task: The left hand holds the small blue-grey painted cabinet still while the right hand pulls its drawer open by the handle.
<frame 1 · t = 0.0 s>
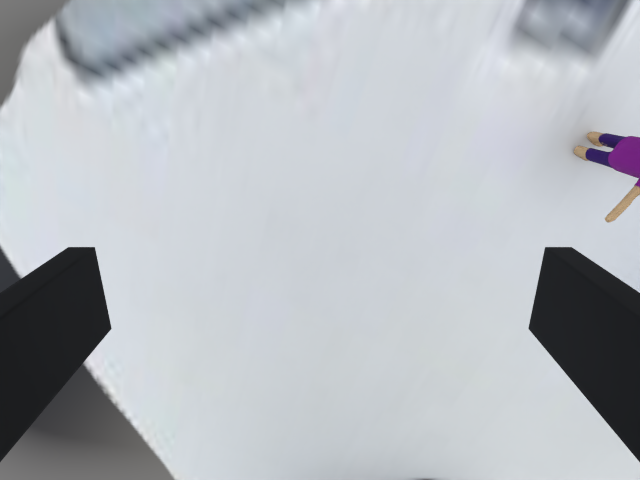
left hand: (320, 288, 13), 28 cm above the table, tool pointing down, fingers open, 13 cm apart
toy: (576, 137, 38), on the table
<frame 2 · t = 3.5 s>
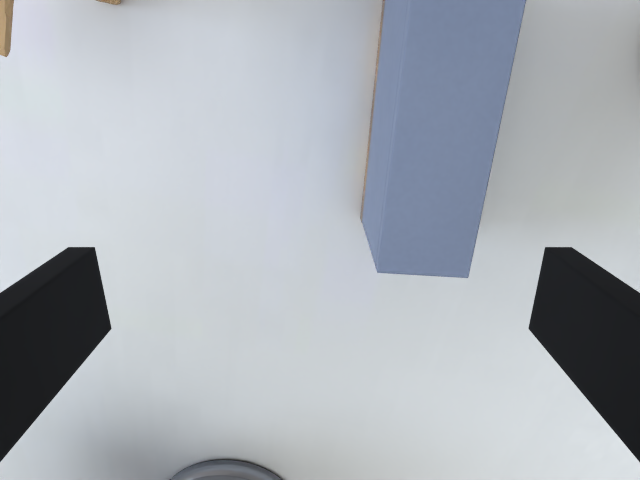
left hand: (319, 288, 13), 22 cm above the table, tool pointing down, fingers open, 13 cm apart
cabinet: (407, 117, 32), on the table
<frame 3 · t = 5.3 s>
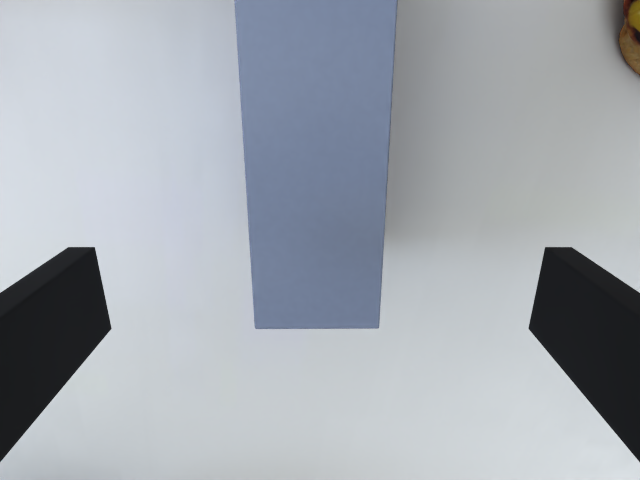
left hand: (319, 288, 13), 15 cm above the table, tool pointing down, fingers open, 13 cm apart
cabinet: (316, 117, 25), on the table
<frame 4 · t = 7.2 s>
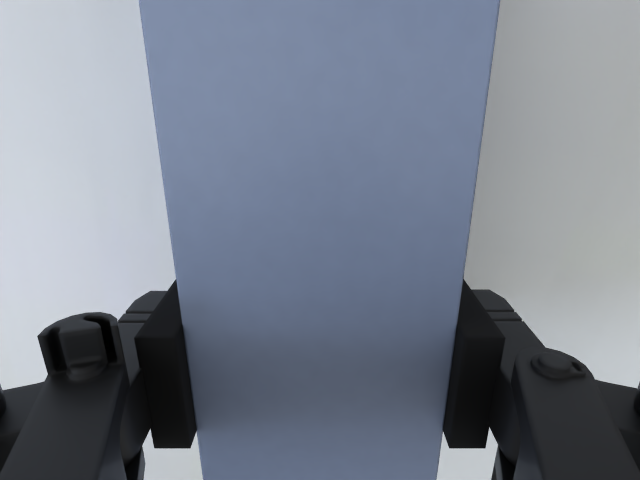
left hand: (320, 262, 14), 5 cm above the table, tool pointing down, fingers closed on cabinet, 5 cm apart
cabinet: (320, 127, 17), on the table, touching left hand
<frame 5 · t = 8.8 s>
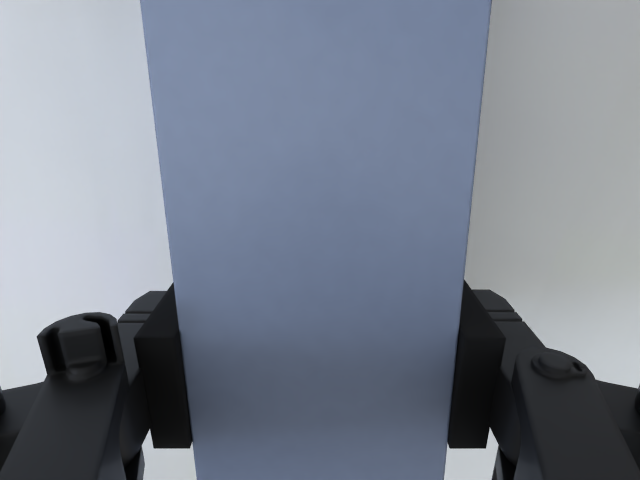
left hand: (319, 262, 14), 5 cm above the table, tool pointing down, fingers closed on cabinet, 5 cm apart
cabinet: (318, 138, 17), on the table, touching left hand
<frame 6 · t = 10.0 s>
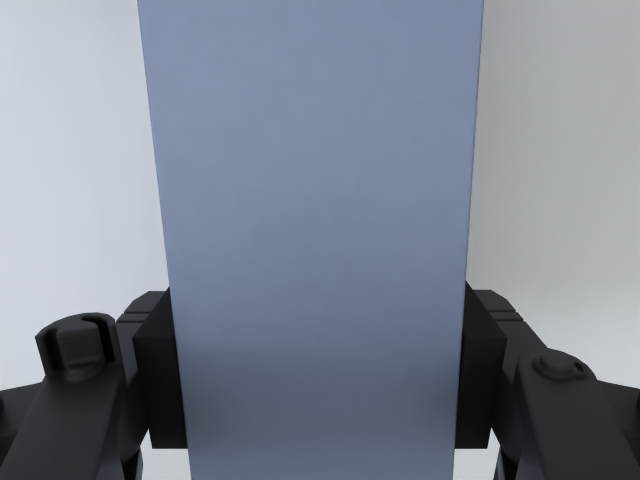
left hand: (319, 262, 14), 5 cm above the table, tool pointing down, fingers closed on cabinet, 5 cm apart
cabinet: (316, 148, 17), point 1 cm above the table, tilted 6°, touching left hand
when the left hand's fingers open (5 cm above the table, at t = 11.6 s): cabinet stays where it is, on the table.
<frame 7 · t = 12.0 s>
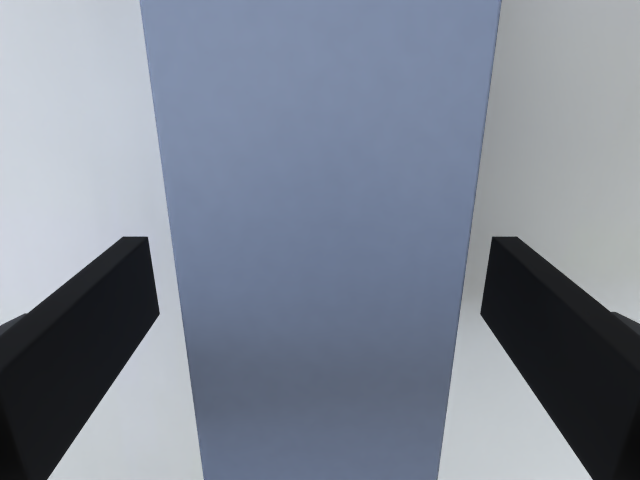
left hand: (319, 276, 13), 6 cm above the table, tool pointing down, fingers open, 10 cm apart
cabinet: (320, 129, 17), on the table
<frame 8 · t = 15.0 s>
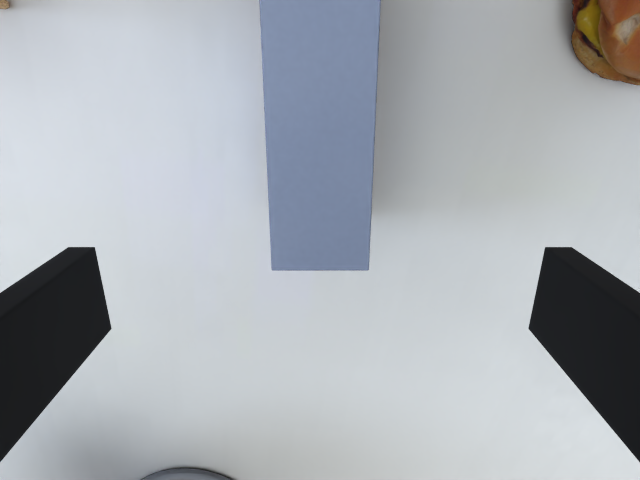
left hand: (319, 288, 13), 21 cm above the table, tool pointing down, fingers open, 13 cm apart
cabinet: (320, 106, 31), on the table
burger: (634, 9, 28), on the table
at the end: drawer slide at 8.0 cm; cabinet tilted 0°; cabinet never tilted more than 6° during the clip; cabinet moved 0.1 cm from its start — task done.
